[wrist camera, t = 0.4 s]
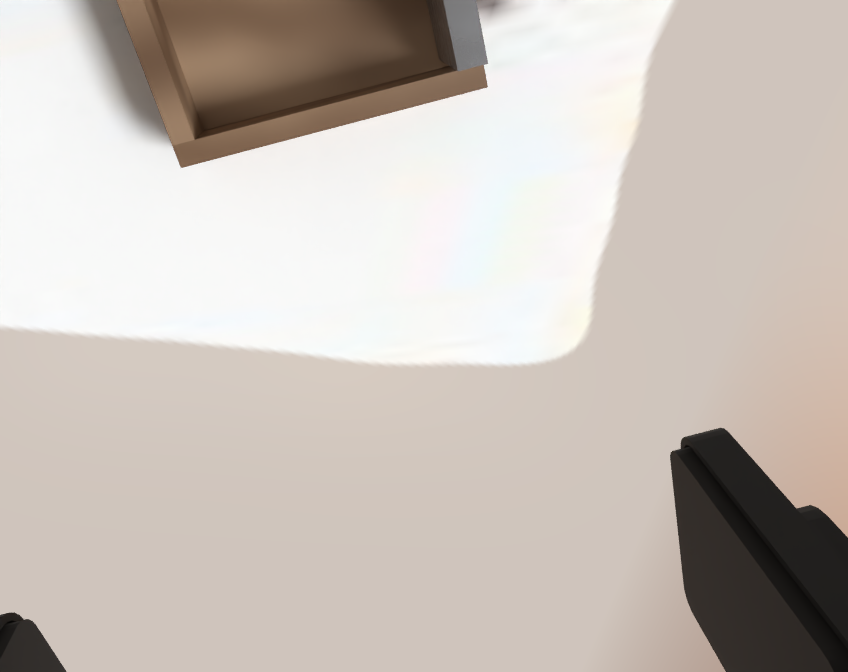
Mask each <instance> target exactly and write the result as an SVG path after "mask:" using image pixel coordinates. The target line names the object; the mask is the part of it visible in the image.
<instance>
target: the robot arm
mask: <svg viewBox="0 0 848 672" xmlns="http://www.w3.org/2000/svg"><path fill="white" fill-rule="evenodd" d="M670 460H671V470H672V478H673V488H674V496H675V507H676V517H677V526H678V535H679V544H680V554H681V564H682V573H683V582H684V590H685V594H686V597H687V601H688V603H689V606H690V608H691V611H692V613H693V614H694V616H695V618H696V620H697V622H698V623H699V625H700V627H701V629H702V630H703V632H704V634H705V636H706V637H707V639H708V641H709V643H710V644H711V646H712V648H713V650H714V651H715V653H716V655H717V657H718V659H719V660H720V662H721V664H722V666H723V667H724V669H725V671H726V672H848V538H847V536H845V534H844V533H843V532H842V531H841V530H840V529H839V528H838V527H837V526H836V525H835V524H834V523H833V521H832V520H831V519H830V518H829V517H828V516H827V515H826V514H825V513H823V512H822V511H821V510H820V509H819V508H816V507H814V506H811V505H809V506H805V507H801V508H797V509H796V508H795V507H794V505H793V504H792V503H791V502H790V501H789V500H788V499H787V497H786V496H784V494H783V493H782V492H781V491H780V490H779V489H778V487H777V486H776V485H775V484H774V483H773V482H772V481H771V480H770V479H769V477H768V476H767V475H766V474H765V473H764V472H763V470H762V469H761V468H760V467H759V466H758V465H757V464H756V463H755V461H754V460H753V459H752V458H751V457H750V456H749V455H748V454H747V452H746V451H745V450H744V449H743V448H742V447H741V446H740V445H739V444H738V442H737V441H736V440H735V439H734V438H733V437H732V436H731V435H730V433H729V432H728V431H726V430H725V429H723V428H718V429H714V430H710V431H706V432H703V433H699V434H695V435H691V436H687V437H684V438H683V439H682V440H681V449H679V450H675V451H672V452H671V455H670ZM0 672H66V670H65V669H64V667H63V666H62V664H61V663H60V661H59V660H58V658H57V657H56V655H55V653H54V652H53V651H52V649H51V647H50V646H49V644H48V643H47V641H46V640H45V638H44V637H43V635H42V634H41V632H40V631H39V629H38V628H37V626H36V625H35V624H34V622H33V621H31V620H29V619H26V620H23V618H22V617H21V616H20V615H18V614H16V613H6V614H2V615H0Z"/></svg>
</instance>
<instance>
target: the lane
mask: <svg viewBox="0 0 848 672" xmlns="http://www.w3.org/2000/svg"><path fill="white" fill-rule="evenodd" d="M117 3H118V5H119V8H120V11H121V13H122V16H123V18H124V21H125V24H126V26H127V29H128V31H129V34H130V37H131V39H132V42H133V44H134V47H135V50H136V52H137V55H138V57H139V60H140V63H141V65H142V68H143V70H144V73H145V76H146V78H147V81H148V83H149V86H150V89H151V91H152V94H153V96H154V99H155V102H156V104H157V107H158V109H159V112H160V115H161V117H162V120H163V122H164V125H165V128H166V130H167V133H168V135H169V138H170V141H171V143H172V146H173V148H174V151H175V154H176V156H177V159H178V161H179V164H180V167H181V168H183V167H187V166H190V165H194V164H198V163H202V162H206V161H209V160H213V159H217V158H221V157H225V156H228V155H232V154H236V153H240V152H244V151H247V150H251V149H255V148H259V147H263V146H266V145H270V144H274V143H278V142H281V141H285V140H289V139H293V138H297V137H300V136H304V135H308V134H312V133H316V132H319V131H323V130H327V129H331V128H335V127H338V126H342V125H346V124H350V123H354V122H357V121H361V120H365V119H369V118H373V117H376V116H380V115H384V114H388V113H392V112H395V111H399V110H403V109H407V108H411V107H414V106H418V105H422V104H426V103H430V102H433V101H437V100H441V99H445V98H448V97H452V96H456V95H460V94H464V93H467V92H471V91H475V90H479V89H483V88H486V87H488V86H487V81H486V75H485V70H484V65H481V66H477V67H473V68H470V69H466V70H462V71H456V70H455V69H453V68H452V67H450V66H449V65H447V64H445V63H444V62H442V61H441V60H439V57H438V52H437V47H436V43H435V38H434V33H433V29H432V24H431V19H430V15H429V10H428V5H427V1H426V0H117Z"/></svg>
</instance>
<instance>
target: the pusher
mask: <svg viewBox="0 0 848 672" xmlns="http://www.w3.org/2000/svg"><path fill="white" fill-rule="evenodd" d="M426 1H427V5H428V10H429V15H430V19H431V24H432V29H433V33H434V38H435V43H436V47H437V52H438V57H439V60H441V61H442V62H444V63H445V64H447V65H449V66H450V67H452V68H453V69H455V70H456V71H462V70H466V69H470V68H473V67H477V66H481V65H485V64H488V61H487V56H486V51H485V45H484V40H483V35H482V29H481V24H480V19H479V13H478V8H477V3H476V0H426Z"/></svg>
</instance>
